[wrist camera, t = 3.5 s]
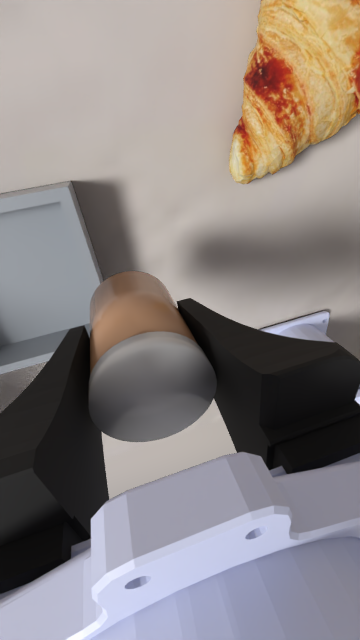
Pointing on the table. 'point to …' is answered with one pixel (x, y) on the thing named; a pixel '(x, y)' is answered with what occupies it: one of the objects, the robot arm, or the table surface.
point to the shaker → (144, 362)
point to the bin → (42, 273)
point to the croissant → (296, 83)
